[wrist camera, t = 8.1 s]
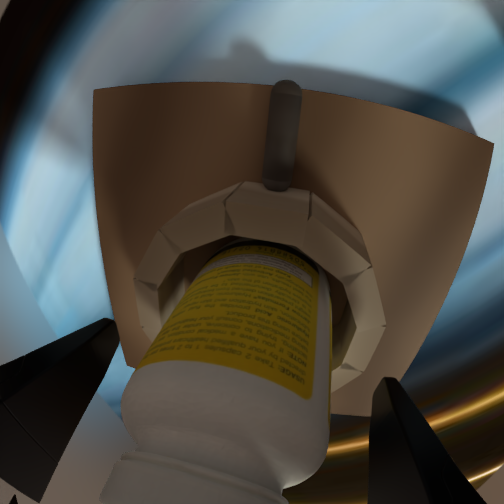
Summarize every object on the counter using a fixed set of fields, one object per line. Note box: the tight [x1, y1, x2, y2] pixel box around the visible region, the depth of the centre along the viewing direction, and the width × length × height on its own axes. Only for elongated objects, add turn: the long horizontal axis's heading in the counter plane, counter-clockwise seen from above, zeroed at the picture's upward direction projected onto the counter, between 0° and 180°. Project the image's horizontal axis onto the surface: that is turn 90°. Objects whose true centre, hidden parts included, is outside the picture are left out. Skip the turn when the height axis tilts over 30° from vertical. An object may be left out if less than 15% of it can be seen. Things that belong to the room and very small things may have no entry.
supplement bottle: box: [99, 237, 332, 504], centre depth 8 cm, size 5×5×10 cm
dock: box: [93, 80, 494, 416], centre depth 12 cm, size 16×16×4 cm
